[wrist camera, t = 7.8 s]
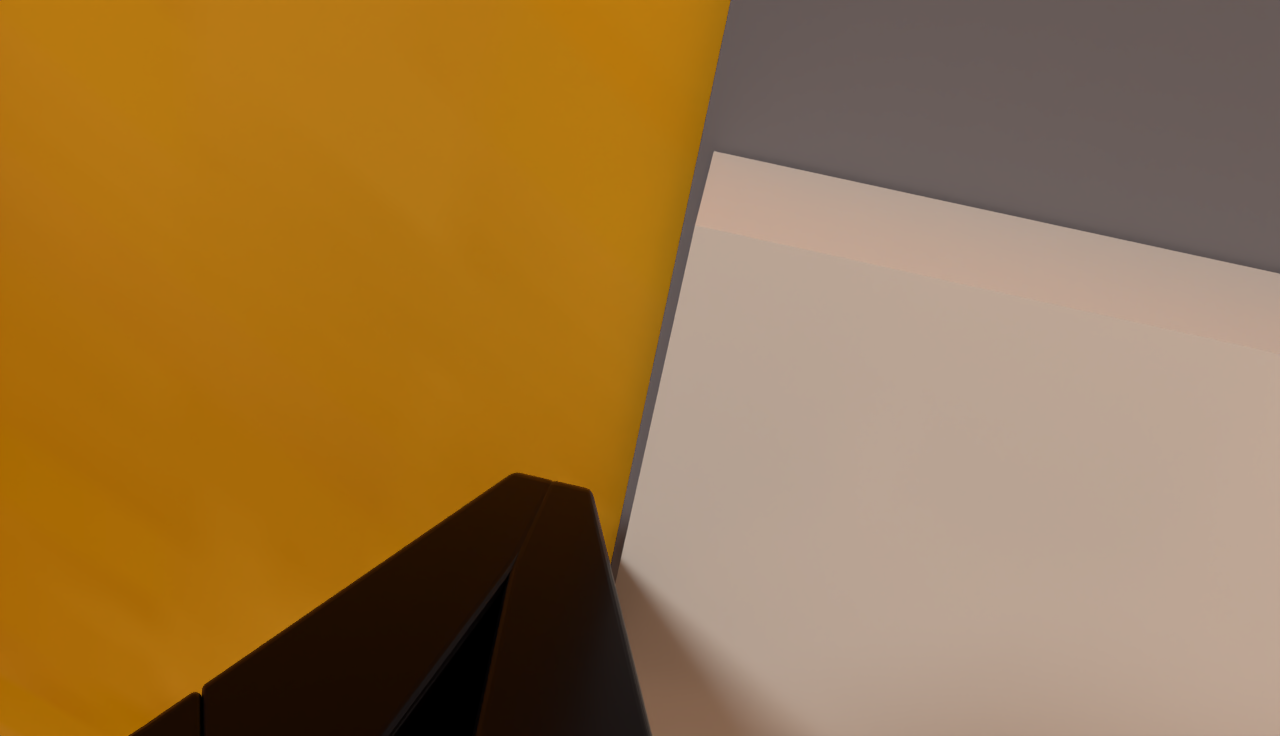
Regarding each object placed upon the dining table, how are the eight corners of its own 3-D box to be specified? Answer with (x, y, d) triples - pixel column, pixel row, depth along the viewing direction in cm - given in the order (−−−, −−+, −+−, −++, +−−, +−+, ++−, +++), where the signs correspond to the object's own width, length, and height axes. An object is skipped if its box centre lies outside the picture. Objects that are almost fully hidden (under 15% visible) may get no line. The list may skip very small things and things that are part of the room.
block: (593, 689, 10) (1139, 821, 10) (556, 847, 9) (1218, 1012, 8) (714, 150, 7) (1542, 329, 7) (694, 225, 5) (1822, 473, 5)
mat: (1148, 968, 12) (1156, 991, 12) (556, 821, 12) (551, 840, 12) (2204, -122, 5) (2284, -125, 5) (814, -383, 6) (815, -399, 5)
